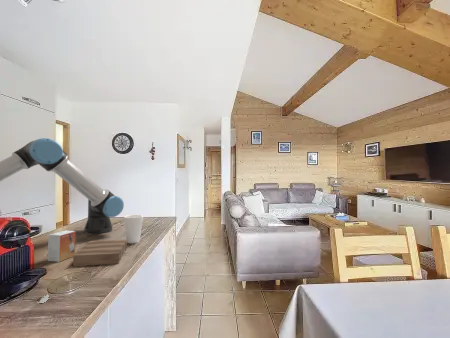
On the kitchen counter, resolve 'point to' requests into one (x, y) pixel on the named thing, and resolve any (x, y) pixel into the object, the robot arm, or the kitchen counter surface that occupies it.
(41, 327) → the kitchen counter surface
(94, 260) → the walnut plinth
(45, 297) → the butter knife
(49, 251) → the small box
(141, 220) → the foam cup
